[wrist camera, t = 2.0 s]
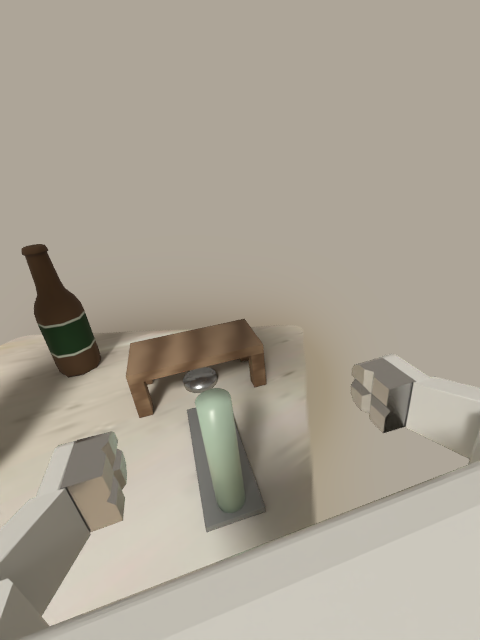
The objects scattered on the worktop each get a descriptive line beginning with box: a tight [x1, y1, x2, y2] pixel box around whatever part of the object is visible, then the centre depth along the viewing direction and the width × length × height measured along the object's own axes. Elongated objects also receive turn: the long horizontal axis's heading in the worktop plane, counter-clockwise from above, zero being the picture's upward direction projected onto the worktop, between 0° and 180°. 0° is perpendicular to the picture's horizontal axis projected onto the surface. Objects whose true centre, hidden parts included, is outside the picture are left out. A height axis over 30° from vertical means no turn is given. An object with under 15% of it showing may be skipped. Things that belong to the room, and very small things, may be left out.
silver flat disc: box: [183, 367, 217, 393], centre depth 49 cm, size 6×6×1 cm
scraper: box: [187, 388, 265, 532], centre depth 33 cm, size 17×6×14 cm, turn 15°
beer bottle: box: [22, 244, 101, 377], centre depth 53 cm, size 8×8×24 cm
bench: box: [126, 319, 266, 418], centre depth 48 cm, size 20×10×8 cm, turn 106°
